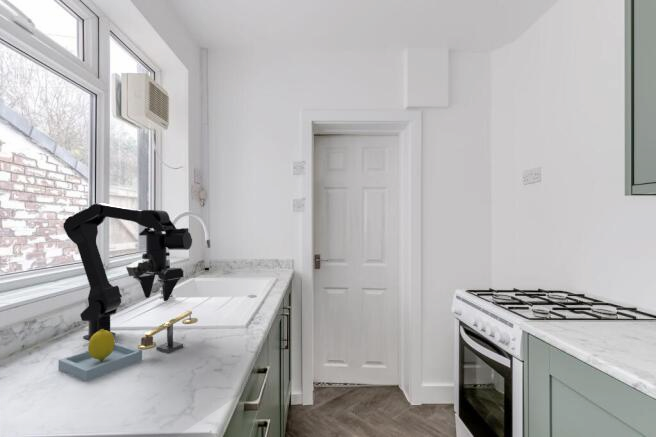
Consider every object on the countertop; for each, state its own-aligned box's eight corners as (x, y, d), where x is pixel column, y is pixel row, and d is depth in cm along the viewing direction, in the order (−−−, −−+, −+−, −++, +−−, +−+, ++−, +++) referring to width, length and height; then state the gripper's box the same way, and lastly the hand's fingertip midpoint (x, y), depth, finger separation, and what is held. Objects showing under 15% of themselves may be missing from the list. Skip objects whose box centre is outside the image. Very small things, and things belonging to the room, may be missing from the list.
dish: (58, 369, 80) (58, 359, 80) (114, 351, 91) (114, 342, 91) (86, 381, 74) (86, 370, 74) (142, 360, 85) (142, 350, 85)
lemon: (82, 364, 80) (82, 332, 80) (101, 355, 86) (102, 325, 86) (101, 366, 79) (101, 333, 79) (119, 357, 85) (120, 326, 85)
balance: (133, 358, 86) (133, 324, 86) (190, 337, 102) (190, 308, 102) (144, 362, 84) (144, 327, 84) (201, 339, 100) (201, 310, 100)
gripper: (112, 250, 100) (112, 301, 99) (150, 253, 91) (150, 309, 91) (147, 248, 109) (147, 294, 109) (184, 250, 101) (184, 300, 100)
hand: (156, 299), depth 102 cm, fingers open, 9 cm apart
